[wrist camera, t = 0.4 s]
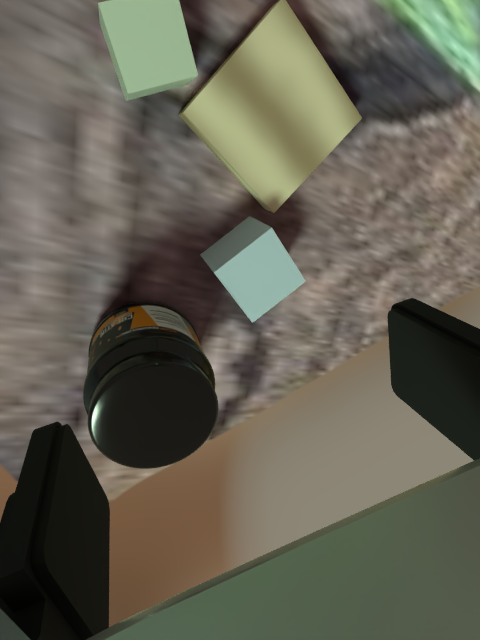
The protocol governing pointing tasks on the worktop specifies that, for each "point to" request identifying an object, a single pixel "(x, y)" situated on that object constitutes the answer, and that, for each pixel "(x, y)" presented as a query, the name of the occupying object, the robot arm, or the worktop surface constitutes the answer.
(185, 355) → the supplement container
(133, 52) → the sage block
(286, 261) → the blue cube
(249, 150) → the maple slab
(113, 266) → the worktop surface
